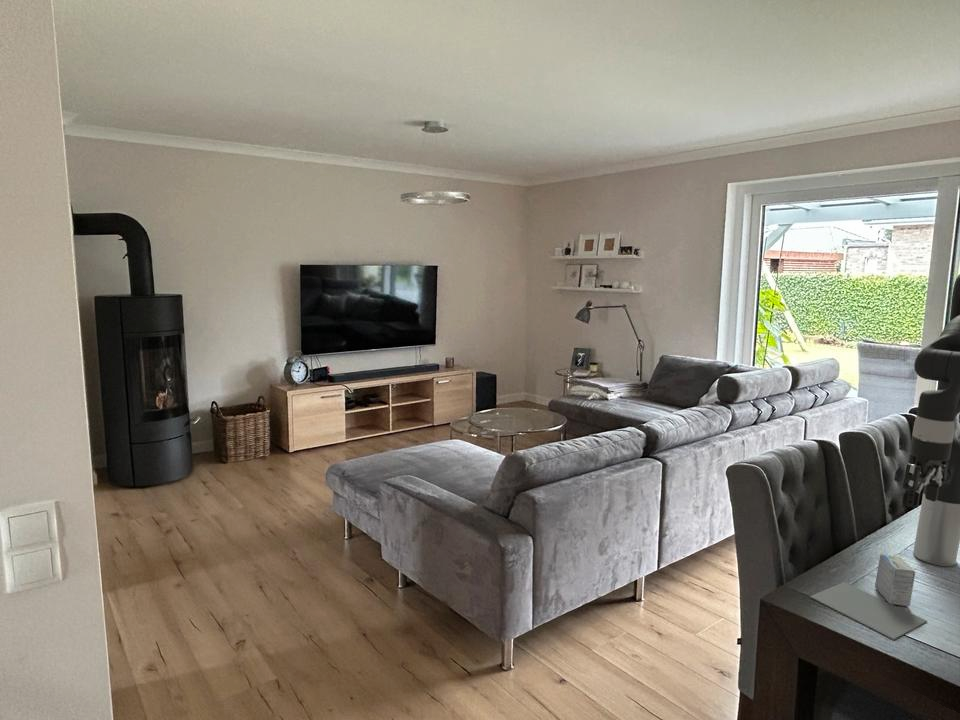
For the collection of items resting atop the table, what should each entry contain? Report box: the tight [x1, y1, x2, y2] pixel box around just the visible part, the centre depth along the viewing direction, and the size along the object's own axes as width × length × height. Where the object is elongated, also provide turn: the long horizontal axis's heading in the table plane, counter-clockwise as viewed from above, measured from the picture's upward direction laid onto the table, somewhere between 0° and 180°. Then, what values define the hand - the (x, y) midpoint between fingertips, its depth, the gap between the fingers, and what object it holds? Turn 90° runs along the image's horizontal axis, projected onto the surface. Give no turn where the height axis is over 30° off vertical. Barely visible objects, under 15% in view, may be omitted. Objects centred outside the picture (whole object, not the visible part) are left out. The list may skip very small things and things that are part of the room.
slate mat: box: [809, 581, 928, 641], centre depth 139 cm, size 14×18×1 cm
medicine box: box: [874, 554, 916, 607], centre depth 144 cm, size 8×4×9 cm, turn 169°
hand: (921, 503), depth 145 cm, fingers open, 8 cm apart
